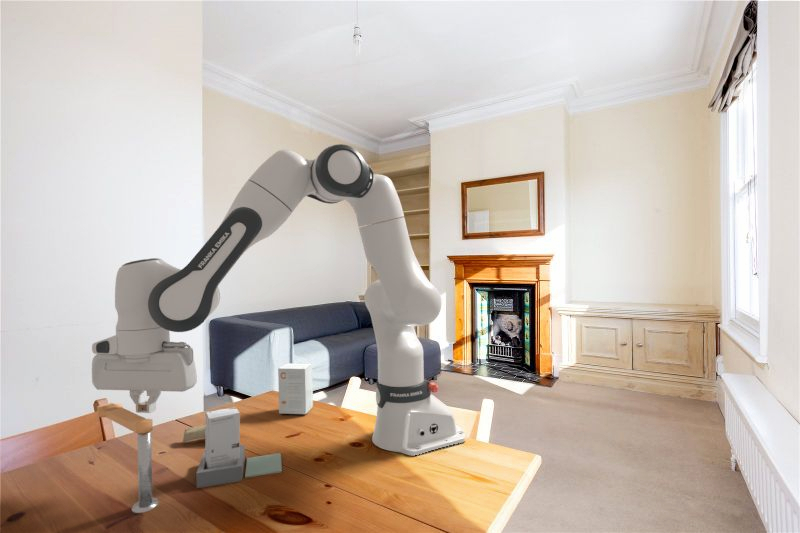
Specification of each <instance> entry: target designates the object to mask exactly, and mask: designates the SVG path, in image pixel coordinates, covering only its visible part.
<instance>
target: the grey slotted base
mask: <svg viewBox="0 0 800 533" xmlns="http://www.w3.org/2000/svg"><path fill="white" fill-rule="evenodd" d="M200 459H201V460H200V462H199V463H198V468H197V470H196V472H195V473H196V478H195V479H196V489H199V488H207V487H211V486H212V487H213V486H218V485H219V486H220V485H225V484H230V483H237V482H242V481H243V476H244V468H245V459H246V445H245V444H240V457H239V458H238V460H237V465H231V466H224V467H218V468H212V469H206V459H205V449H204V450H203V453H202V456H201V458H200Z"/></svg>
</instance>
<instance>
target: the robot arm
mask: <svg viewBox="0 0 800 533" xmlns="http://www.w3.org/2000/svg"><path fill="white" fill-rule="evenodd" d="M306 197H308V198H310V199H314V200H317V201H318V202H321V203H324V204H331V205H333V204H338V203H340V202H342V201H346V202H348V203H349V205H350V206H351V207H352V209H353V210H354V214H355V216H356V220H357V225H358V229H359V233H360V234H359V235H360V238H361V243H362V245H363V250H364V253H365V258H366V261H367V262H368V263H369V265H370V266H371V267H372V268H373V270H374V271H375V274H376V275H377V278H378V279H377V280H375V281H373V282H371V283H370V284H369V285H368V286H367V288H366V290H365V293H364V298H363V300H364V303H365V307H366V308H367V311H368V312H369V315H370V318H371V324H372V327H373V333H374V336H375V341H376V348H377V370H378V371H377V380H376V387H375V401H376V402H375V403H376V405H377V410H376V418H375V425H374V430H373V433H372V437H371V440H372V443H373V444H374V445H375V446H376V447H378V448H380V449H383V450H386V451H389V452H390V451H391V452H396V453H400V454H401V453H402V454H405V455H408V456H412V457H415V455H417V456H419V454H420V455H423V454H422V453H424V454H426V453H425V452H427V453H429V452H428V451H431V450H434V449H438V448H441V447H445V446H448V447H450V446H449V445H452V446H453V444H455V445H459V444H461V443H464V441H466V433H465V432H464V429H463V428H462V427H460V425H458V424H457V423H456V420H455V415H454V413H453V410H451V409H450V407H449V406H448V405H447V404H445V403H444V402H442V401H441V400H440V399H439V398H438V397H436V396H434V395H433V394H432V393H434V394H435V393H437V392H438V391H439V385H438V384H436V383H435V382H431V381H430V380H428V379H426V378H425V376H424V375H425V372H424V371H425V370H424V368H425V367H424V361H425V360H424V347H423V345H422V342H420V340H419V337H418V336H417V333H416V329H415V327H421V326H426V325H429V324H431V323H433V322H434V321H435V320H436V319H437V317H438V316H439V315H440V312H441V309H442V297H441V294H440V292H439V290H438V289H437V288H436V286H434V284H432V283H431V281H429V279H428V277H427V276H426V274H425V272H424V271H423V268H422V267H421V265H420V262H419V260H418V259H417V256H416V255H415V251H414V250H413V247H412V242H411V240H410V235H409V232H408V227H407V223H406V219H405V214H404V210H403V206H402V202H401V200H400V197H399V195H398V192H397V190H396V187H395V185H394V182H393V181H392V180H391V178H389V176H387V175H384V174H381V173H378V174H377V173H374V171H373V169H372V168H371V166H370V165H369V164H368V163H367V162H366V160H365V159H364V157H363V156H362V154H361V153H360V152H359V151H358V150H357V149H356V148H354V147H352V146H350V145H347V144H343V143H342V144H340V143H339V144H333V145H330V146H327V147H326V148H324V149H323V150H322V151H321V152H320V153H319V154H318V156H316V158H314V159H307V158H304V157H303V156H302V155H301V154H299V153H297V152H296V151H294V150H289V149H281V150H280V149H279V150H277V151H275V153H273V154H272V155H270V156H269V157H268V158H267V159H266V160H265V161H264V162H263V163H262V164H261V165H260V166H259V167H257V169H256V170H255V171H254V172H253V173H252V175H251V176H250V177H249V178H248V179H247V180H246V181H245V183H244V185H243V186H242V187H241V189H240V190H239V192H238V193H237V194H236V196H235V198H234V200H233V202H232V203H231V205H230V207H229V208H228V211H227V212H226V214H225V216H224V218H223V220H222V221H221V223H220V225H219V226H218V227H217V229H216V230H215V231H214V232H213V234H212V235H211V236H210V237H209V239H207V241H206V242H205V244H204V245H203V246H202V247H200V249H199V250H198V252H197V253H196V254H195V256H193V258H192V259H191V260H190V262H188V263H187V264H186V265H185V266H184V267H183V268H182V269H180V268H178V267H176V266H173V265H172V264H169V263H168V262H166V261H164V260H163V259H162V258H147V259H146V258H145V259H138V260H133V261H129V262H126V263H124V264H122V265H121V266H120V267H119V268H118V270H117V273H116V276H115V288H114V308H115V310H116V313H117V321H116V325H115V335H112V336H110V337H106V338H103V339H100V340H98V341H95V342H94V343H92V346H91V352H92V353H93V354H95V355H94V357H93V358H92V362H91V382H92V385H93V386H94V388H95V389H96V390H101V391H129V397H130V399H131V401H132V402H133V403H134V404H135V412H136V414H142V413H143V414H151V413H154V412H155V411H156V410H157V403H156V402H157V401H158V400H159V398H160V396H161V393H162V392H175V393H176V392H181V393H182V392H183V393H184V392H186V391H188V390H190V389H192V388H193V387H195V385H196V384H197V381H198V376H197V369H196V363H195V359H194V358H195V357H194V356H195V355H194V348H193V347H192V346H191V345H190V344H187V342H186V341H179V342H177V341H176V342H175V341H170V340H171V336H170V335H171V334H170V332H172V333H185V332H189V331H190V332H191V331H192V330H194V329H197V328H198V327H200V326H201V325H202V324H203V323H204V322H206V319H207V318H208V317H209V316H211V314H213V312H215V311H216V309H217V307H218V306H219V303H220V299H221V293H220V289H219V285H220V284H221V282H222V281H223V280H224V279H225V277H226V276H227V275H228V274H229V272H230V271H231V270H232V268H233V267H234V266H235V264H237V261H239V259H240V258H241V257H242V256H243V255H244V254H245V252H247V251H248V250H249V249H250V248H251V247H253V245H256V243H259V242H260V241H263V240H264V239H266V238H268V237H270V236H272V235H273V234H274V233H275V232H277V230H278V229H279V228H280V227H281V226H283V224H285V223H286V221H287V220H288V218H290V217H291V215H292V214H293V212H294V211H295V209H296V208H297V207H298V205H299V204H300V203H301V202H302V200H303V199H305V198H306ZM145 392H146V396H147V397H148V399H147V400H146V399H145V396H144V395H143V393H145ZM458 443H459V444H458ZM445 448H446V447H445ZM441 449H442V448H441ZM438 450H439V449H438ZM434 451H435V450H434ZM431 452H432V451H431Z"/></svg>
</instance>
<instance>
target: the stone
mask: <svg viewBox="0 0 800 533" xmlns="http://www.w3.org/2000/svg"><path fill="white" fill-rule="evenodd" d="M205 425H206V423H205V424H202V425H198V426H192V427H188V428H185V429H184V433H183V438H182V443H185V442H188V441H193V440H197V439H199V440H200V439H205Z"/></svg>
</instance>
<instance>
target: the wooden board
mask: <svg viewBox="0 0 800 533" xmlns="http://www.w3.org/2000/svg"><path fill="white" fill-rule="evenodd" d="M123 406H124V405H123V404H122V403H114V402H109V403H106V404H101V405H97V406H96V413H97V418H107V419H108V420H110V421H112V422H114V423H116V424H118V425H119V426H120V425H121V426H122V427H124V428H126V429H128V430H129V431H132V432H133V433H135V434H137V435H138V434H142V433H147V432H150V431H151V432H152V431H153V419H152V418H145V417H143V416H141V415H139V414H138V413H134V412H132V411H130V410H129V409H126V408H124V407H123Z"/></svg>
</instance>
